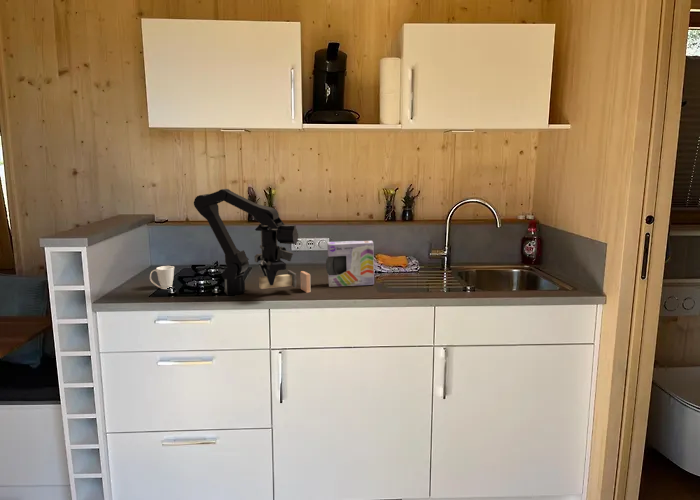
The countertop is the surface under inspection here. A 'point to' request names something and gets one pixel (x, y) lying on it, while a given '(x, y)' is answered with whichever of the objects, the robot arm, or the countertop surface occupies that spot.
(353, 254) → the cake pan box
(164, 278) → the cup
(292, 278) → the beige block with plate
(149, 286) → the countertop surface
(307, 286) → the tile
